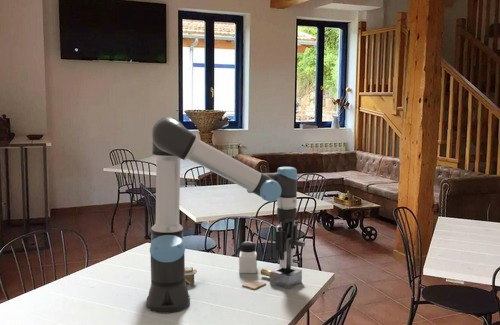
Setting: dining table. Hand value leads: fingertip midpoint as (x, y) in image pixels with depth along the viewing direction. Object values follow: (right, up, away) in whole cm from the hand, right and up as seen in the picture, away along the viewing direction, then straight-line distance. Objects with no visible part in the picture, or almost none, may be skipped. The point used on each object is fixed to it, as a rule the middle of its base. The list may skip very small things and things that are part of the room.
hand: (286, 265), depth 198 cm
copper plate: (-12, -7, -2) cm, 15 cm away
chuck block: (-3, -7, +3) cm, 8 cm away
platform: (-39, -8, 0) cm, 40 cm away
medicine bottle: (-15, -5, +15) cm, 22 cm away
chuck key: (+2, -5, -1) cm, 6 cm away
